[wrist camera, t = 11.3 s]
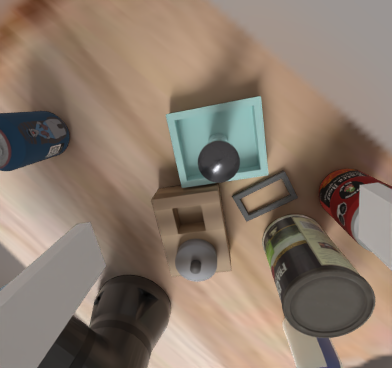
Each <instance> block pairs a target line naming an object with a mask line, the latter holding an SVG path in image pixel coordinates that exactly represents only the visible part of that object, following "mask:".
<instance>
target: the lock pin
mask: <svg viewBox="0 0 392 368" xmlns="http://www.w3.org/2000/svg"><path fill="white" fill-rule="evenodd" d="M239 166H240V158H239V155H238V152H237V150H236V149H235V147H234V146H233V145H232V144H230V143H228V139H227V137H226V136H225V135H224V134H221V133H215V134H213V135H212V136H211V137H210V138H209V141H208V144H206V145H205V146H204V147H203V148H202V150H201V151H200V154H199V157H198V168H199V171H200V173H201V174H202V175H203V176H204V177H205V178H206V179H207V180H209V181H212V182H216V183H222V182H226V181H228V180H230V179H231V178H233V177H234V176H235V175H236V173H237V172H238V169H239Z"/></svg>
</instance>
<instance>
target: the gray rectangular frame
mask: <svg viewBox="0 0 392 368" xmlns="http://www.w3.org/2000/svg"><path fill="white" fill-rule="evenodd" d="M281 178H282V180H283V182H284V184H285V186H286V188H287V190H288V192H289V194H290V195H288V196H286V197H284V198H282V199H280V200H278V201H275V202H273V203H271V204H269V205H267V206H265V207H263V208H261V209H258V210H256V211H254V212H252V213H250V214H248V213H247V211H246V209H245V208H244V206H243V204H242V202H241V200H240V199H241V198H243V197H245V196H247V195H249V194H251V193H253V192H255V191H257V190H259V189H261V188H263V187H265V186H267V185H269V184H271V183H273V182H275V181H277V180H279V179H281ZM232 197H233V199H234V201H235V202H236V204H237V206H238V208H239V209H240V211H241V213H242V215H243V216H244V218H245V220H246V221H249V220H251V219H253V218H256V217H258V216H260V215H262V214H264V213H266V212H269V211H271V210H273V209H275V208H277V207H279V206H281V205H284V204H286V203H288V202H290V201H292V200H294V199H297V198H298V197H297V195H296V193H295V191H294V189H293V187H292V185H291V183H290V181H289V179H288V177H287V175H286V173H285V171H282V172H280V173H278V174H276V175H274V176H272V177H270V178H268V179H266V180H264V181H262V182H260V183H258V184H256V185H254V186H252V187H250V188H248V189H246V190H244V191H242V192H240V193H238V194H236V195H234V196H232Z"/></svg>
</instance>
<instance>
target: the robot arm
mask: <svg viewBox="0 0 392 368" xmlns="http://www.w3.org/2000/svg"><path fill="white" fill-rule="evenodd" d="M358 239H360V240H361V241H362V242H363V243H364V244H365V245H366V246H367V247H368V248H369V249H370V250H371V251H372V252H373V253H374V254H375V255H376V256H377V257H378V258H379V259H380V260H381V261H382V262H383V263H384V264H385V265H386V266H387V267H388V268H390V269H391V270H392V189H390V188H388V187H386V186H384V185H382V184H380V183H371V184H364V185H360V194H359V232H358ZM105 267H106V264H105V261H104V258H103V256H102V253H101V250H100V247H99V245H98V242H97V239H96V236H95V234H94V231H93V228H92V225H91V222H88V223H80V224H76V225H75V226H74V227H73V228H72V229H71V230H70V231H68V232H67V233H66V234H65V235H64V236H63V237H61V238H60V239H59V240H58V241H57V242H56V243H55V244H53V245H52V246H51V247H50V248H49V249H48V250H47V251H45V252H44V253H43V254H42V255H41V256H40V257H39V258H37V259H36V260H35V261H34V262H33V263H32V264H31V265H29V266H28V267H27V268H26V269H25V270H24V271H23V272H21V274H19V275H18V276H17V277H16V278H15V279H13V280H12V281H11V282H10V283H9V284H7V285H5V286H3V287H2V288H0V368H147V367H148V363H149V359H150V355H151V352H152V350H153V348H154V347H155V345H156V343H157V342H158V340H159V339H160V337H161V335H162V334H163V332H164V331H165V329H166V327H167V325H168V322H169V318H170V313H171V305H170V301H169V299H168V297H167V295H166V294H165V292H164V291H163V290H162V289H161V288H160V287H159V286H158V285H157V284H155V283H154V282H152V281H150V280H148V279H145V278H143V277H139V276H133V275H124V276H118V277H115V278H113V279H111V280H109V281H108V282H106V283H105V284H104V285H103V287H102V288H101V290H100V291H99V293H98V295H97V297H96V299H95V302H94V306H93V311H92V316H91V321H90V325H89V327H88V326H87V325H86V324H84V323H83V322H82V321H81V320H79V319H78V318H77V317H75V316H74V315H73V314H74V313H75V311H76V310H77V308H78V307H79V305H80V304H81V302H82V301H83V299H84V298H85V296H86V295H87V293H88V292H89V290H90V289H91V287H92V286H93V285H94V283H95V282H96V280H97V279H98V277H99V276H100V274H101V273H102V271H103V270H104V268H105Z"/></svg>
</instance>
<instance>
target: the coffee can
mask: <svg viewBox="0 0 392 368" xmlns="http://www.w3.org/2000/svg"><path fill="white" fill-rule="evenodd" d="M263 248H264V251H265V253H266V256H267V259H268V262H269V265H270V268H271V272H272V275H273V278H274V281H275V284H276V287H277V290H278V293H279V297H280V300H281V303H282V309H283V313H284V316H285V318H286V320H287V321H288V323H289V324H290V325H291V326H292V327H293V328H294V329H296V330H297V331H299V332H301V333H303V334H305V335H308V336H312V337H317V338H333V337H338V336H342V335H345V334H348V333H350V332H353V331H354V330H356V329H358V328H359V327H361V326H362V325H363V324H364V323H365V322H366V321H367V320H368V319H369V317H370V316H371V314H372V312H373V310H374V307H375V295H374V292H373V289H372V288H371V286H370V285H369V283H368V282H367V281H366V280H365V279H364V278H363V277H362V276H360V275H359V273H358V272H357V271H356V270H355V268H354V267H353V266H352V265H351V263H350V262H349V261H348V260H347V259H346V257H345V256H344V255H343V254H342V253H341V251H340V250H339V249H338V248H337V246H336V245H335V244H334V243H333V242H332V241H331V239H330V238H329V237H328V236H327V234H326V233H325V232H324V231H323V229H322V228H321V227H320V225H319V224H318V223H317V222H316V221H315V220H314V219H312V218H310V217H307V216H304V215H299V214H293V215H287V216H283V217H280V218H278V219H277V220H275V221H274V222H272V223H271V224H270V225H269V226H268V228H267V229H266V231H265V233H264V236H263Z"/></svg>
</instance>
